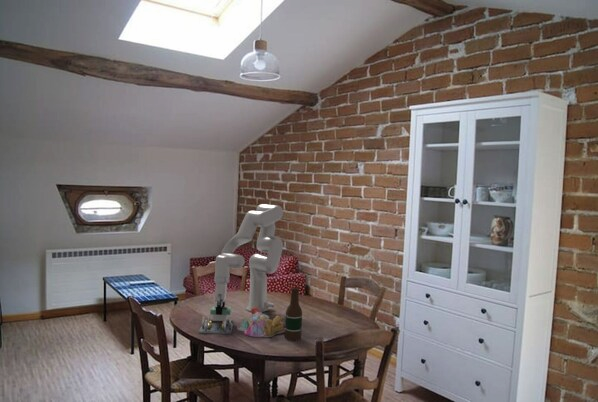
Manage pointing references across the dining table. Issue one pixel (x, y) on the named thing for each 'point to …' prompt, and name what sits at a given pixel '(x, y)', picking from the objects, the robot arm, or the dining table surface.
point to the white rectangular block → (219, 317)
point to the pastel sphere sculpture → (261, 325)
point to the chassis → (216, 326)
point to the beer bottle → (293, 317)
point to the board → (224, 310)
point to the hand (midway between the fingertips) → (220, 311)
